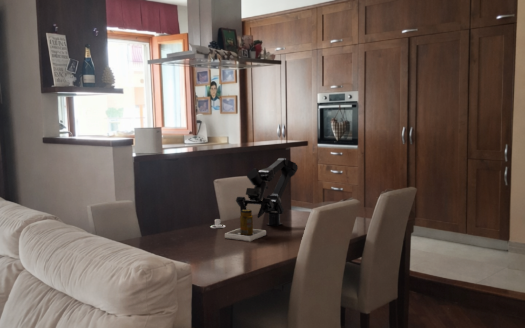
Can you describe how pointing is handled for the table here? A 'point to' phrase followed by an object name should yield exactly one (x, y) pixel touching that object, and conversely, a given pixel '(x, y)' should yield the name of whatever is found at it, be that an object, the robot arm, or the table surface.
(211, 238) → the table surface
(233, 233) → the tray
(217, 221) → the white ring with post
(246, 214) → the condiment
